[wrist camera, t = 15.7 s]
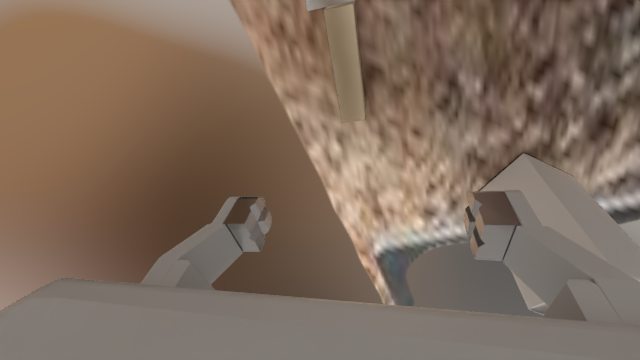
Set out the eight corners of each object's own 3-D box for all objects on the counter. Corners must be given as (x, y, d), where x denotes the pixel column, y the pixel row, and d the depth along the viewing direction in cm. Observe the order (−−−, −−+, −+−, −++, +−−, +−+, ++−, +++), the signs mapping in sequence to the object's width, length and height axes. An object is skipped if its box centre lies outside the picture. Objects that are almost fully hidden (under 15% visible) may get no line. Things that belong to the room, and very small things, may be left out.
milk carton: (520, 212, 35) (625, 390, 20) (475, 192, 34) (552, 364, 20) (573, 175, 30) (755, 369, 16) (522, 151, 29) (667, 334, 15)
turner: (368, -125, 18) (368, -138, 16) (382, 105, 29) (383, 117, 26) (287, -98, 20) (277, -106, 18) (328, 112, 30) (324, 124, 28)
